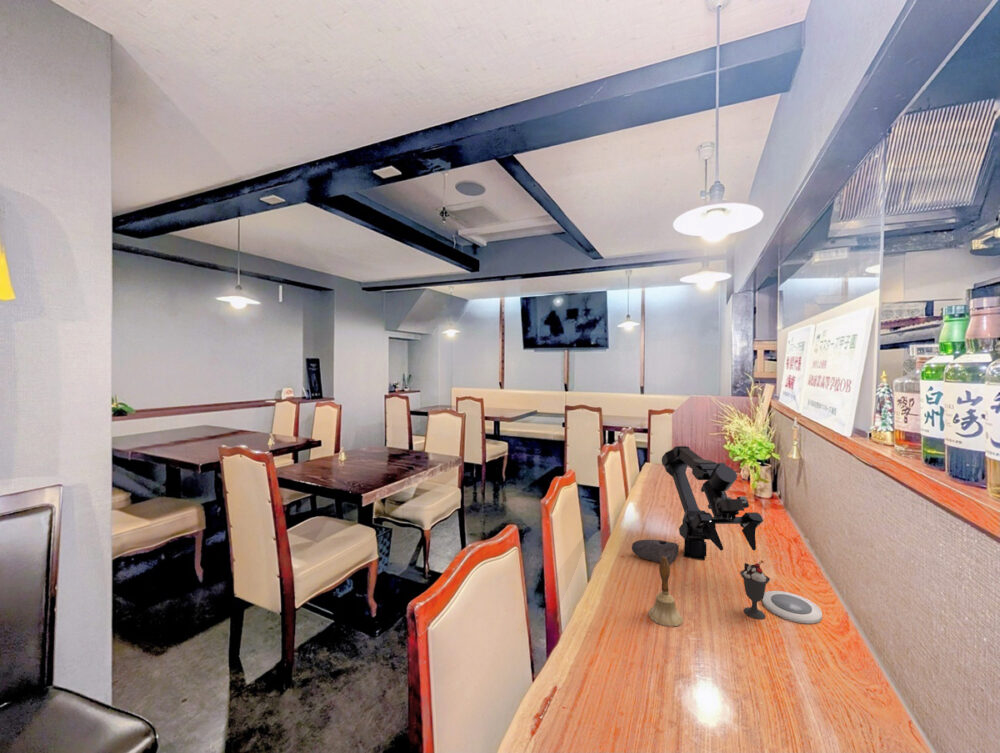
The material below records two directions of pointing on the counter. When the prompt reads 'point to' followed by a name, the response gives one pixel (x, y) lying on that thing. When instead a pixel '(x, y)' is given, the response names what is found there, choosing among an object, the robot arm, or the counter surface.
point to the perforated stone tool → (655, 550)
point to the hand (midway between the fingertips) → (738, 550)
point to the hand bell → (665, 601)
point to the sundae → (754, 588)
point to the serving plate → (792, 607)
